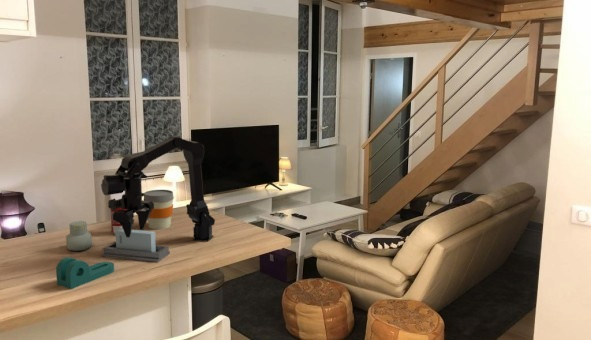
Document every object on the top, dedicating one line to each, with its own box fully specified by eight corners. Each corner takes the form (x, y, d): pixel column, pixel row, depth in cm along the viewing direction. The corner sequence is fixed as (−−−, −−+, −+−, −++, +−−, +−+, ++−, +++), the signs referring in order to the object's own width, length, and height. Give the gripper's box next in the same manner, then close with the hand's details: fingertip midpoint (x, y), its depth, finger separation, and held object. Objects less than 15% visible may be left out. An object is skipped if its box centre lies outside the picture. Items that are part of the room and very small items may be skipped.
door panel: (155, 252, 179) (155, 231, 177) (151, 255, 176) (150, 234, 174) (121, 249, 182) (120, 228, 180) (116, 252, 179) (115, 230, 177)
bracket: (71, 289, 149) (69, 265, 148) (57, 285, 153) (55, 260, 151) (118, 270, 165) (117, 248, 163) (105, 266, 168) (103, 244, 167)
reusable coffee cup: (170, 230, 208) (169, 196, 206) (140, 230, 208) (139, 195, 206) (177, 222, 221) (176, 189, 218) (149, 221, 221) (148, 189, 218)
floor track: (169, 253, 181) (169, 245, 181) (158, 262, 172) (157, 254, 172) (116, 248, 186) (115, 240, 185) (101, 256, 177) (101, 248, 176)
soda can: (123, 236, 200) (122, 207, 198) (108, 234, 202) (106, 206, 200) (131, 231, 207) (130, 203, 205) (117, 229, 208) (116, 202, 206)
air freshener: (93, 251, 182) (91, 225, 180) (68, 254, 178) (67, 228, 176) (89, 242, 192) (88, 218, 190) (66, 245, 188) (64, 220, 186)
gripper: (126, 184, 185) (128, 224, 188) (97, 195, 167) (99, 239, 170) (154, 186, 183) (155, 226, 186) (126, 197, 165) (128, 242, 168)
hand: (134, 233), depth 177 cm, fingers open, 9 cm apart
